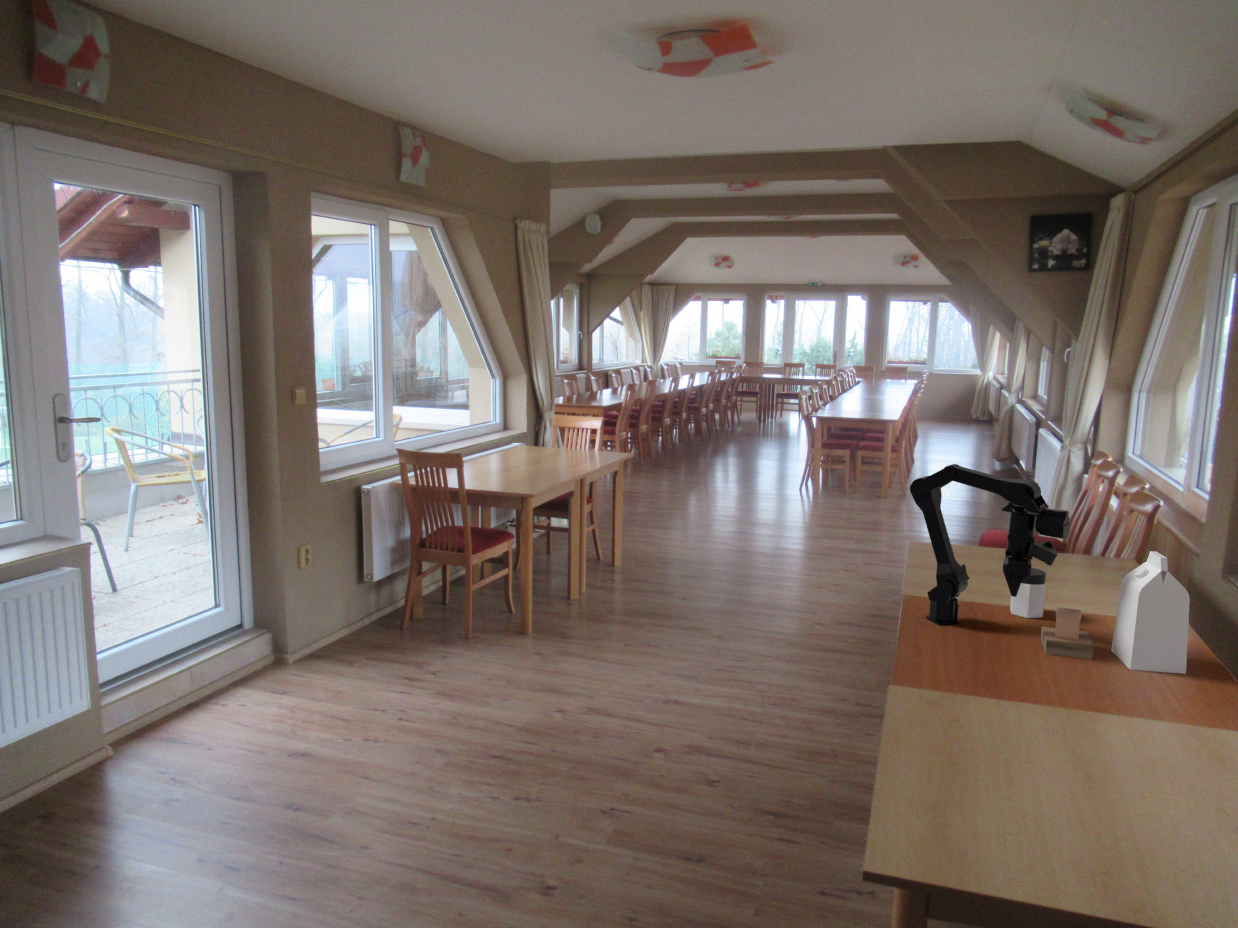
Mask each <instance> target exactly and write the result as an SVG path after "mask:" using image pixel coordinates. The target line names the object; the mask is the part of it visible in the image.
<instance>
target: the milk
mask: <svg viewBox="0 0 1238 928" xmlns="http://www.w3.org/2000/svg"><path fill="white" fill-rule="evenodd" d="M1168 565H1169V564H1168V557H1167V556H1165V555H1163V554H1161V553H1159V552H1158V551H1154V550H1150V551H1149V553H1148V557H1147V559H1146V561H1145V562H1143V563H1142V564H1139V566H1137V567H1136V568H1134V569H1133V570H1131V571H1130V572H1128V573H1126V575H1124V577H1123V578H1122V579H1121V583H1120V584H1121V585H1120V589H1119V597H1118V603H1117V609H1116V615H1115V616H1116V617H1115V622H1114V631H1113V636H1112V644H1111V648H1110V649H1111V650H1110V651H1111V652H1112V653H1113V654H1114V655H1115V656H1116V657H1117V658H1118V659H1119V660H1120V661H1121V662H1122V664H1124V665H1125V666H1126V667H1127V668H1128V669H1129V670H1131V671H1140V672H1141V671H1142V672H1143V671H1144V672H1159V673H1167V674H1168V673H1170V674H1171V673H1173V674H1183V675H1184V674H1185V675H1186V674H1187V659H1188V657H1187V656H1188V640H1189V639H1188V638H1189V637H1188V635H1189V620H1190V619H1189V617H1190V616H1189V615H1190V601H1191V600H1190V594H1189V592H1188V590H1187V589H1186V588H1185V587H1184V586H1183V584H1182V583H1180V581H1179V580H1178V579H1176V577H1174V575H1172V574H1171V573H1170V571H1169V566H1168Z"/></svg>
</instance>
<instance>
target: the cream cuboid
mask: <svg viewBox="0 0 1238 928" xmlns="http://www.w3.org/2000/svg"><path fill="white" fill-rule="evenodd" d="M1055 619H1056V620H1055V627H1054V628H1055V637H1060V638H1067V639H1073V640H1078V637H1079V630H1080V625H1081V621H1082V609H1076V608H1066V607H1061V606H1060V607H1059V606H1056V607H1055Z"/></svg>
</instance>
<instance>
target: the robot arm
mask: <svg viewBox="0 0 1238 928" xmlns="http://www.w3.org/2000/svg"><path fill="white" fill-rule="evenodd" d="M951 482H955V483H959V484H962V485H964V486H965V485H966V486H969V487H972V488H976V489H979V490H983V491H986V492H990V493H993V494H996V495H998V496H1000V497H1001V498H1003V499H1004V500H1005V501H1007V502H1008V503H1007V504H1006V505H1005V506H1004V507H1002V508H1001V511H1002V512H1007V513H1009V514H1010V515H1009V523H1008V524H1009V525H1008V533H1007V541H1006V542H1007V543H1006V546H1005V554H1004V555H1005V556H1004V557H1005V558H1004V559H1003V563H1002V564H1003V565H1002V574H1004V575H1003V576H1004V578H1005V581H1006V584H1007V587H1008V590H1009V593H1010V597H1011V596H1013V597H1016V596H1017V593H1018V590H1019V587H1020V585H1021V582H1022V579H1023V578H1025V577H1027V576H1029V575H1030V574H1031V568H1032V566H1033V565H1032V564H1033V563H1032V562H1031V561H1032V560H1033V558H1034V559H1037V560H1039V561H1041V562H1043V563H1044V564H1045V565H1047V566H1049V567H1050V566H1053V563H1054V562H1055V560H1056V558H1057V557H1058V551H1057V550H1056V549H1055V548H1053V542H1052V541H1050V540H1047V539H1046V540H1044V542H1041V541H1040V542H1038V541H1036V540H1035V539H1036V538H1035V537H1036V536H1035V531H1036V532H1037V533H1038V534H1039V535H1040V536H1046V537H1052V538H1056V539H1062V540H1066V539H1067V538H1068V537H1069V533H1070V529H1071V524H1072V523H1071V519H1070V516H1069V514H1070V512H1069V510H1064V509H1055V508H1049V504H1048V503H1047V502H1046V500H1045V498H1044V497H1043V495H1042V489H1041V486H1040V485H1039V483H1038V482H1036V481H1034V480H1030V479H1024V478H1023V479H1021V478H1007V477H1006V478H1005V477H1001V476H997V475H993V474H991V473H990V474H989V473H986V472H983V471H979V470H976V469H972V468H968V467H965V466H961V465H959V464H957V463H952V464H949V465H946V466H944V467H943V468H942V469H941V470H938V471H936V472H934V473H933V474H931V475H925V476H922V477H918V478H916V479H914V480H913V481H912V482H911V483H910V485H909V491H910V495H911V497H912V499H913V501H914V503H915V504H916V506H917V507H918V508H919V509H920V511H921V512H922V515H923V519H924V521H925V525H926V526H925V527H926V529H927V532H928V535H929V539H930V544H931V546H932V549H933V554H934V558H935V561H936V571H935V572H936V573H935V580H936V585H935V586H934V587H933V588H931V589H930V590H929V591H927V597H928V600H929V612H928V613H929V614H927V615H925V618H926V619H928V620H929V621H931V622H933V623H934V624H936V625H938V626H941V625H942V626H944V625H953V624H954V625H955V624H961V621H960V620H959V618H958V617H959V603H958V602H959V601H958V600H959V599H958V597H960V594H961V593H962V592H964V591H965V590H966V589H967V587H968V586H969V580H970V579H971V578H970V577H969V575H968V573H967V572H968V571H967V566H966V564H961V565H960V564H959V562H958V561H957V560H956V557H955V555H954V554H955V553H954V551H953V547H952V543H951V540H950V536H949V534H948V533H949V532H948V530H947V526H946V522H945V518H944V515H943V512H942V506H941V505H942V497H943V495H942V488H943V487H945V486H947V485H948V484H950V483H951Z"/></svg>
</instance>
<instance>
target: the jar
mask: <svg viewBox="0 0 1238 928" xmlns="http://www.w3.org/2000/svg"><path fill="white" fill-rule="evenodd" d="M1046 577H1047V573H1046V572H1045V571H1044V570H1042V569H1039V568H1033V567H1031V574H1030V575H1029V576H1027V577H1025V578H1023V579H1022V582H1021V585H1020V587H1019V590H1018V593H1017V596H1016V597H1013V596H1011V595H1010V603H1009V610H1010V614H1011V615H1013V616H1018V617H1022V618H1025V619H1038V618H1043V617H1044V610H1045V609H1044V608H1045V607H1044V606H1045V596H1046Z"/></svg>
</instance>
